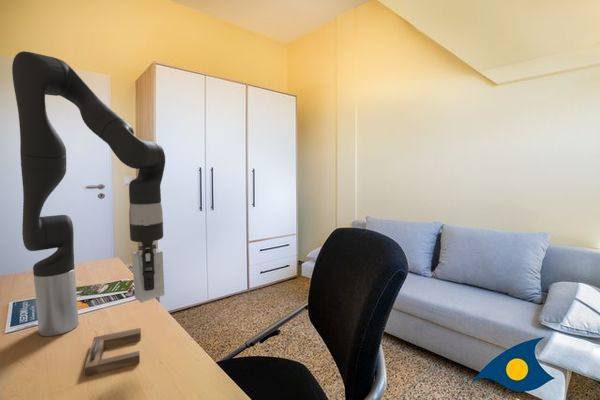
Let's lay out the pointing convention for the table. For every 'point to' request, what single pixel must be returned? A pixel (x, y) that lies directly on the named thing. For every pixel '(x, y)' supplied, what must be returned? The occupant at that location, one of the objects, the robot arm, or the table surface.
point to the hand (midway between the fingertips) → (149, 285)
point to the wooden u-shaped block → (100, 365)
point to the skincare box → (139, 279)
